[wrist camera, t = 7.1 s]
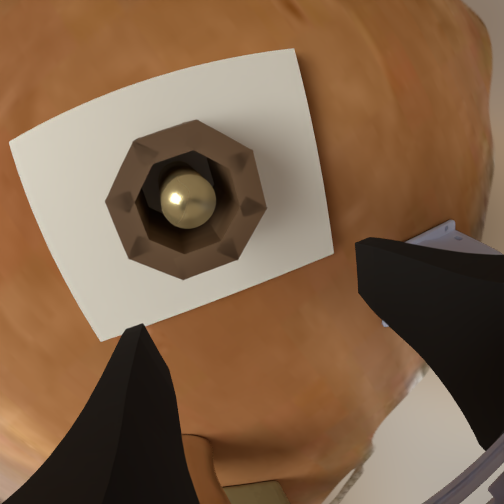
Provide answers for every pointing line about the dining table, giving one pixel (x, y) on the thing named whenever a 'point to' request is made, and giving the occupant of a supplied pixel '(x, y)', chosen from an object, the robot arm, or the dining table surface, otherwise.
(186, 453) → the beer glass
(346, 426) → the dining table surface
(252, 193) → the walnut bead
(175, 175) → the brass rod
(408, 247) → the robot arm
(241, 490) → the cheese
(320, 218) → the white rectangular board
